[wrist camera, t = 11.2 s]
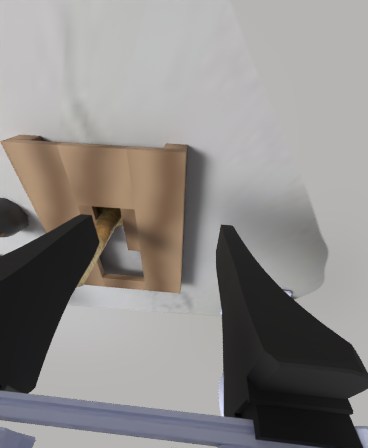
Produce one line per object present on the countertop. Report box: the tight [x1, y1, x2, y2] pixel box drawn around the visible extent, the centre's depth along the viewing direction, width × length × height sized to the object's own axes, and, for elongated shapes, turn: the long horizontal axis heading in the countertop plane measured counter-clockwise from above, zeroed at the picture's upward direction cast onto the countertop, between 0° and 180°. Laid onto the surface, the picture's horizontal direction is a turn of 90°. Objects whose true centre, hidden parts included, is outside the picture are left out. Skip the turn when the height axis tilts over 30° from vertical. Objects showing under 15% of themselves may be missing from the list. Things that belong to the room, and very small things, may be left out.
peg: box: [77, 207, 123, 287], centre depth 19 cm, size 4×4×10 cm
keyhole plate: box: [0, 135, 188, 293], centre depth 24 cm, size 16×20×2 cm
